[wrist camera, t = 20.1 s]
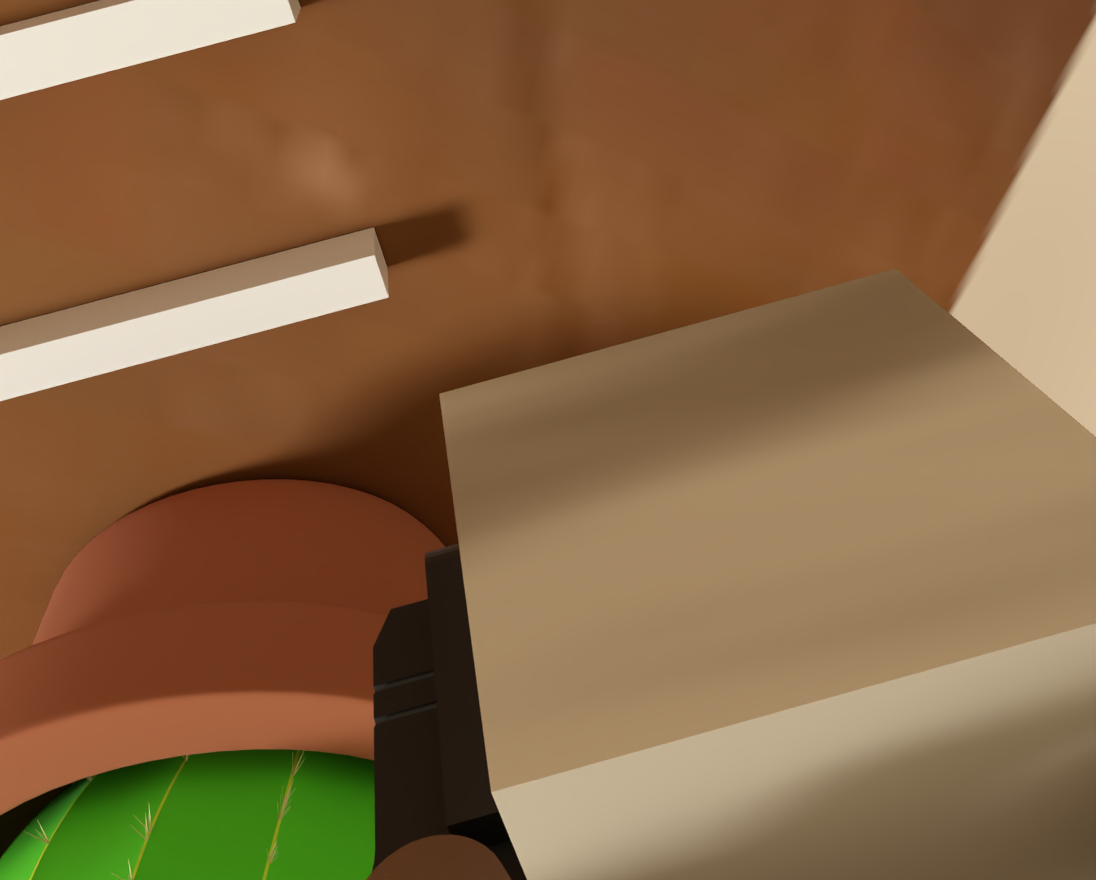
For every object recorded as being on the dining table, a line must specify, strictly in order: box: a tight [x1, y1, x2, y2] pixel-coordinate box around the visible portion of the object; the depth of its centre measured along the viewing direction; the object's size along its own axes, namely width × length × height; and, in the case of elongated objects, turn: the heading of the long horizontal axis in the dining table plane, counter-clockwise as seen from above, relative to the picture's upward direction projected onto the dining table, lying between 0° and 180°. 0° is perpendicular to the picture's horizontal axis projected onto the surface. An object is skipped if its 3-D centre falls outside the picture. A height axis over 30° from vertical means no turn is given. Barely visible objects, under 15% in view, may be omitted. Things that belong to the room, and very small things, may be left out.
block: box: [439, 269, 1096, 880], centre depth 9 cm, size 5×5×5 cm
